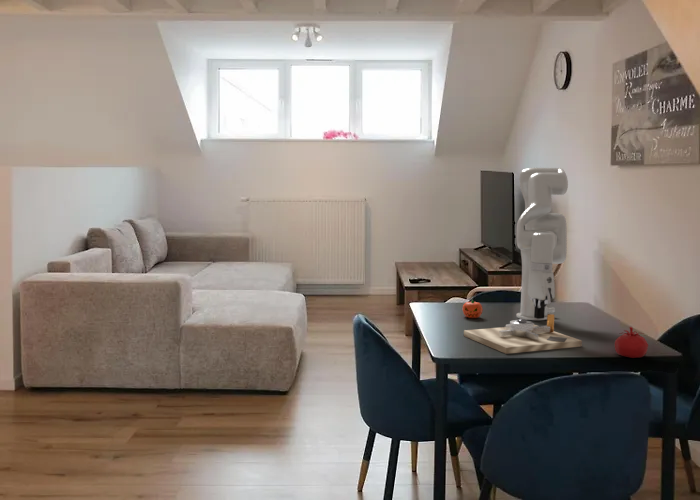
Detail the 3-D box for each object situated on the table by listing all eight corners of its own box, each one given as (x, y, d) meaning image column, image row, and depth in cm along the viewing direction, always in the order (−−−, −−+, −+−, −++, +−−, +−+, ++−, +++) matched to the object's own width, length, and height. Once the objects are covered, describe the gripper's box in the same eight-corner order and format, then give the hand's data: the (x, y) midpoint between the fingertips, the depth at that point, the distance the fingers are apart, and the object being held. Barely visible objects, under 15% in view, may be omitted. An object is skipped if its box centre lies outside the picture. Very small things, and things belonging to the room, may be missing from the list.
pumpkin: (463, 315, 288) (464, 297, 288) (483, 316, 286) (484, 298, 285) (460, 318, 281) (461, 300, 280) (480, 320, 279) (481, 301, 278)
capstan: (515, 341, 234) (515, 323, 233) (486, 330, 249) (487, 313, 249) (568, 336, 242) (569, 319, 241) (538, 326, 257) (538, 309, 257)
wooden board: (534, 330, 262) (534, 324, 262) (581, 346, 238) (581, 340, 238) (463, 335, 251) (463, 329, 251) (505, 353, 227) (506, 347, 227)
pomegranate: (630, 361, 221) (632, 332, 219) (607, 353, 230) (608, 325, 228) (654, 358, 225) (656, 329, 223) (630, 350, 234) (632, 322, 232)
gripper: (563, 269, 247) (561, 321, 249) (537, 264, 261) (535, 313, 263) (545, 270, 244) (543, 322, 246) (520, 265, 258) (518, 314, 260)
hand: (539, 318), depth 254 cm, fingers closed
